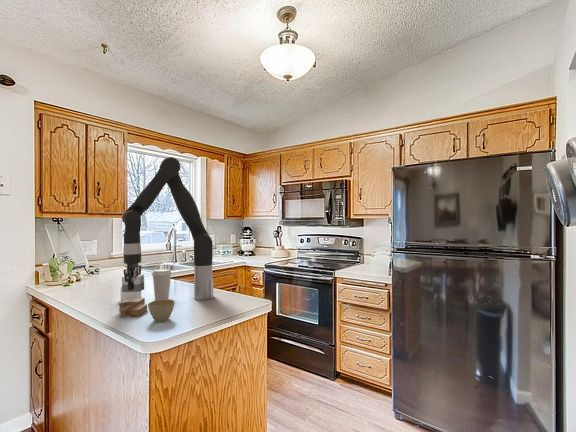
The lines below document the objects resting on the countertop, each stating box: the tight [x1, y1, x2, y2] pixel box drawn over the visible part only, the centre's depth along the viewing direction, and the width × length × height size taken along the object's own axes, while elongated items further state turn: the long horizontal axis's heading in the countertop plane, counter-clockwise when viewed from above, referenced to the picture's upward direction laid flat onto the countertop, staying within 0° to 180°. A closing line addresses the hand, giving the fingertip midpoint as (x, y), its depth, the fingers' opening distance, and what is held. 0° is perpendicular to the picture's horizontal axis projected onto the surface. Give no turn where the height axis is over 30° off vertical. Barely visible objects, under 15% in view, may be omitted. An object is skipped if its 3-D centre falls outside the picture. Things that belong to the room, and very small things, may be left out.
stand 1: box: [119, 297, 146, 310], centre depth 147 cm, size 8×8×3 cm
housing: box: [121, 274, 145, 292], centre depth 146 cm, size 8×5×8 cm, turn 93°
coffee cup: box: [151, 268, 172, 301], centre depth 160 cm, size 10×10×15 cm
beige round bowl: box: [147, 299, 175, 323], centre depth 127 cm, size 10×10×7 cm
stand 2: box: [119, 303, 148, 318], centre depth 135 cm, size 8×8×3 cm
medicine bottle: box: [119, 286, 142, 302], centre depth 160 cm, size 7×7×12 cm
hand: (133, 288), depth 146 cm, fingers closed on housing, 5 cm apart
